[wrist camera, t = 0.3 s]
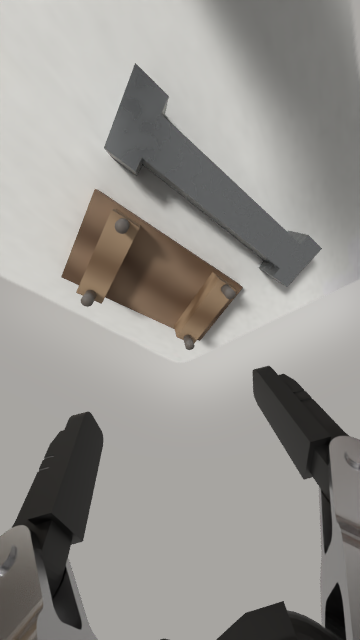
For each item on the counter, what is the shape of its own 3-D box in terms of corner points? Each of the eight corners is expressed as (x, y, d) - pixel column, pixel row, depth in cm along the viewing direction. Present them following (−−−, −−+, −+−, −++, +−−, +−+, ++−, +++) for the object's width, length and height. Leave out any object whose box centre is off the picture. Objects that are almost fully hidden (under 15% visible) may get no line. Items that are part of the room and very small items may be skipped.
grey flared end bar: (137, 88, 18) (135, 63, 15) (301, 242, 29) (321, 248, 25) (110, 156, 21) (103, 147, 17) (271, 277, 31) (286, 286, 27)
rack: (97, 189, 22) (81, 186, 16) (238, 283, 30) (259, 302, 25) (65, 273, 26) (43, 293, 20) (197, 335, 34) (207, 361, 29)
